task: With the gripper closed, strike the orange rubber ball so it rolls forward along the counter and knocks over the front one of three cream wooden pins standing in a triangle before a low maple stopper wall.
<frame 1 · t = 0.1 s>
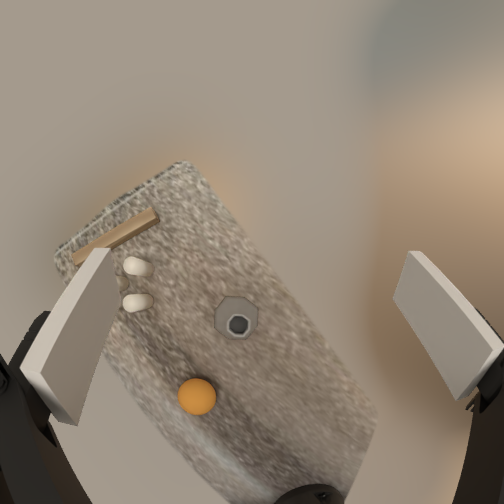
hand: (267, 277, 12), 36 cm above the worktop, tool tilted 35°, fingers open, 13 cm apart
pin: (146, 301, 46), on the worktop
back wall: (117, 239, 47), on the worktop
ball: (196, 396, 42), on the worktop
pin 1: (147, 269, 47), on the worktop
pin 2: (122, 283, 46), on the worktop
flask: (236, 317, 48), on the worktop
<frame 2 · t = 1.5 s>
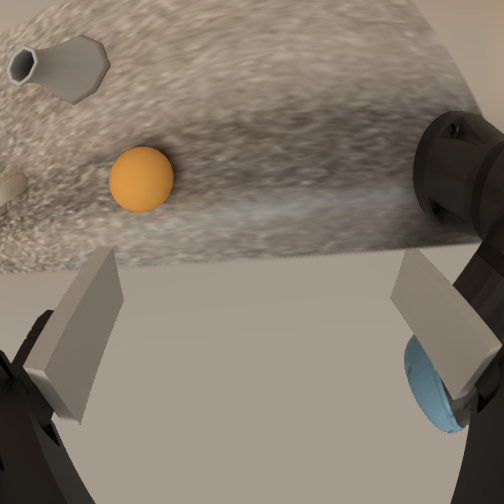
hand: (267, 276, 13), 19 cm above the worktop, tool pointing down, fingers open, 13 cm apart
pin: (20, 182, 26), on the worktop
ball: (141, 179, 25), on the worktop
pin 2: (0, 204, 27), on the worktop
flask: (78, 69, 22), on the worktop
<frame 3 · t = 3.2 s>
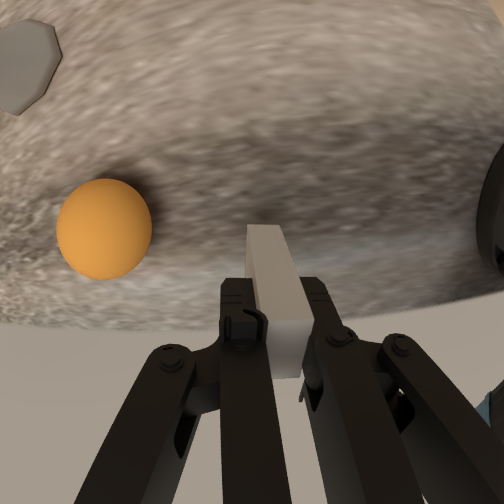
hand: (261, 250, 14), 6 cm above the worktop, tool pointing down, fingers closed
ball: (103, 229, 16), on the worktop
flask: (24, 65, 13), on the worktop
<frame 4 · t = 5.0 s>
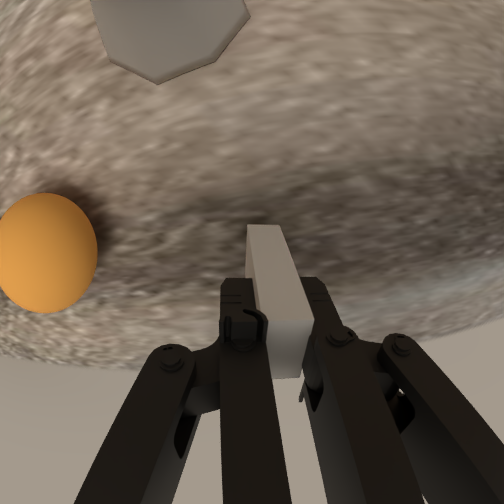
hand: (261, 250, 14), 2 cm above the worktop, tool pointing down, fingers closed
ball: (43, 252, 12), on the worktop
flask: (170, 14, 10), on the worktop
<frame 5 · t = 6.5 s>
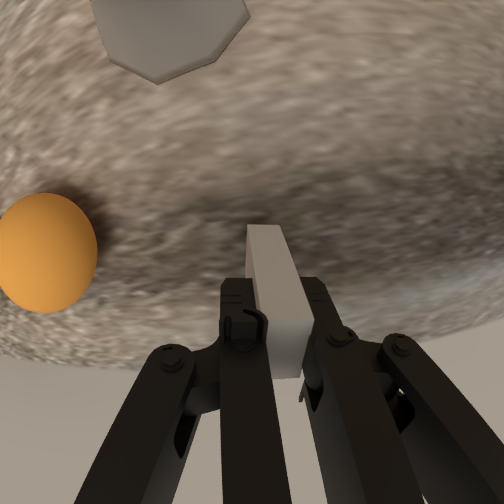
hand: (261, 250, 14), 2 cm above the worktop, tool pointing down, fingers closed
ball: (43, 252, 12), on the worktop
flask: (170, 14, 10), on the worktop
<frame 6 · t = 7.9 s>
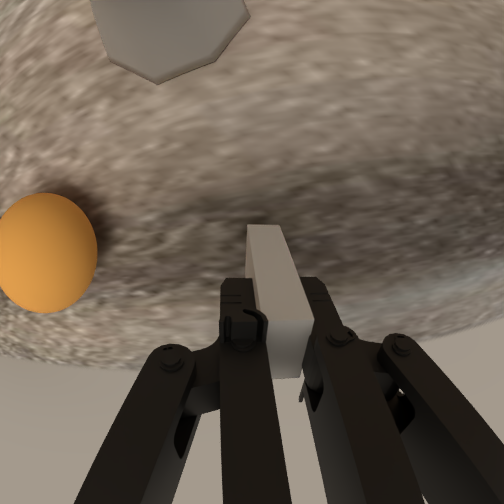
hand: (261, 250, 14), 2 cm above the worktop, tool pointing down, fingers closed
ball: (43, 252, 12), on the worktop
flask: (169, 14, 10), on the worktop
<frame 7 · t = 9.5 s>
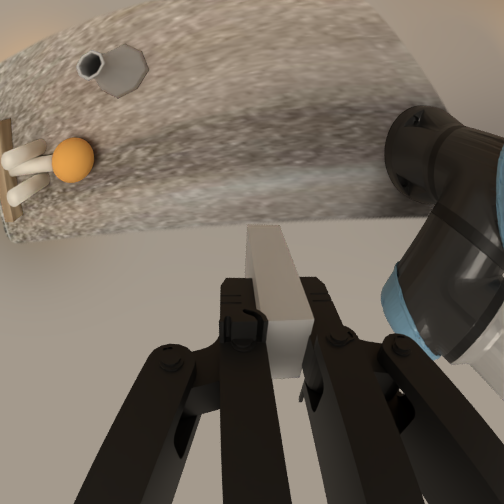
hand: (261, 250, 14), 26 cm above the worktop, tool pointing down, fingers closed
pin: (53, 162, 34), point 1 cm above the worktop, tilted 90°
back wall: (10, 168, 34), on the worktop
ball: (72, 160, 32), on the worktop
pin 1: (40, 146, 33), on the worktop
pin 2: (44, 178, 36), on the worktop
flask: (122, 70, 31), on the worktop
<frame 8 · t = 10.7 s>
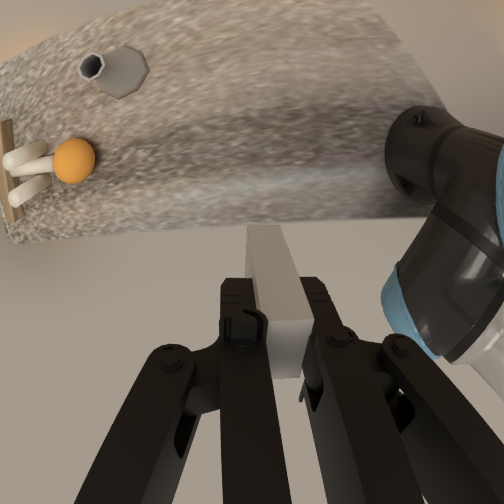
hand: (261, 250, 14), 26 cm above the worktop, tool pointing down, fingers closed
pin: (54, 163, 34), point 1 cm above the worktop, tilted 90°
back wall: (12, 168, 34), on the worktop
ball: (73, 160, 33), on the worktop
pin 1: (41, 147, 34), on the worktop
pin 2: (45, 179, 36), on the worktop
flask: (122, 72, 31), on the worktop
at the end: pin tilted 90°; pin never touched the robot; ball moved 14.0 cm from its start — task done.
